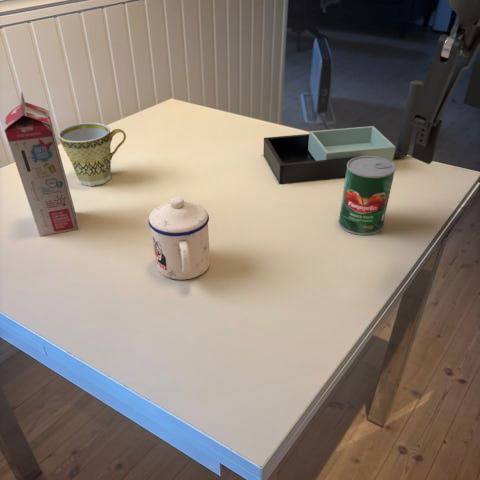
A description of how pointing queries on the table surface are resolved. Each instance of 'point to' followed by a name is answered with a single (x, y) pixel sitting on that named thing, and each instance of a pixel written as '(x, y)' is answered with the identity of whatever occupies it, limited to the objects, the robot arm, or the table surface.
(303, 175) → the frame
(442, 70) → the robot arm
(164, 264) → the teacup with lid
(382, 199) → the canned tomato
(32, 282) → the table surface
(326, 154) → the green tray with handle
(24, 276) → the table surface
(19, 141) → the juice carton
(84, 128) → the ceramic cup
